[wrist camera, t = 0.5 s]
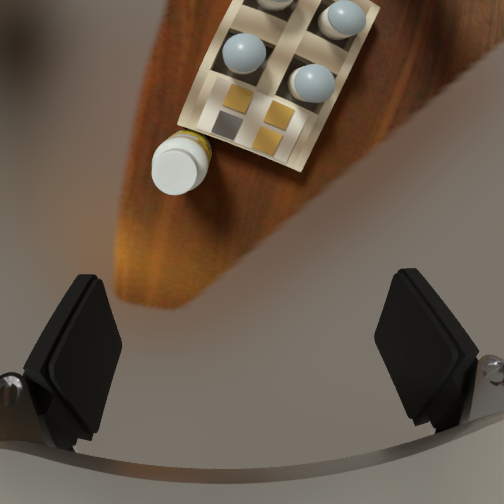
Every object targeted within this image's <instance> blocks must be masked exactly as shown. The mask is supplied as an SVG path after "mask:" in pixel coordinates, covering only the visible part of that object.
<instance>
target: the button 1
mask: <svg viewBox="0 0 504 504" xmlns="http://www.w3.org/2000/svg"><path fill="white" fill-rule="evenodd" d="M265 56H266V49H265V46H264V44H263V42H262V41H261V40H260V39H259V38H258V37H256V36H254V35H252V34H247V33H241V34H237V35H234V36H232V37H231V38H230V39H228V40H227V42H226V43H225V45H224V47H223V58H224V62H225V65H226V66H227V68H228V69H229V70H230V71H232V72H234V73H236V74H241V75H244V74H249V73H252V72H254V71H255V70H256V69H257V68H258V67H259V66H260V65H261V64H262V63H263V61H264V59H265Z"/></svg>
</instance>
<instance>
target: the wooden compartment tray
mask: <svg viewBox="0 0 504 504" xmlns="http://www.w3.org/2000/svg"><path fill="white" fill-rule="evenodd" d="M336 1H340V0H293V1H292V3H291V4H290V5H289V6H288V7H287V8H286V9H284V10H281V11H269V10H266V9H264V8H262V7H261V6H260V5H259V4H258V3H257V1H256V0H233V1H232V3H231V5H230V7H229V9H228V10H227V12H226V14H225V16H224V18H223V20H222V22H221V24H220V26H219V28H218V30H217V32H216V34H215V36H214V38H213V40H212V43H211V45H210V47H209V49H208V51H207V53H206V55H205V58H204V60H203V62H202V64H201V67H200V69H199V71H198V73H197V76H196V78H195V80H194V83H193V85H192V88H191V90H190V92H189V95H188V97H187V100H186V102H185V105H184V107H183V110H182V112H181V115H180V118H179V120H178V123H177V125H180V126H183V127H186V128H189V129H192V130H195V131H197V132H200V133H203V134H206V135H209V136H211V137H214V138H217V139H220V140H222V141H225V142H228V143H230V144H233V145H236V146H238V147H241V148H243V149H246V150H248V151H251V152H254V153H256V154H259V155H261V156H263V157H266V158H268V159H271V160H273V161H276V162H278V163H280V164H283V165H285V166H287V167H290V168H292V169H294V170H297V171H299V172H301V171H302V169H303V167H304V165H305V163H306V161H307V159H308V157H309V155H310V153H311V151H312V149H313V147H314V145H315V143H316V141H317V139H318V136H319V134H320V132H321V130H322V128H323V126H324V124H325V122H326V120H327V118H328V116H329V114H330V112H331V110H332V108H333V106H334V103H335V101H336V99H337V97H338V95H339V93H340V91H341V89H342V87H343V85H344V83H345V81H346V79H347V76H348V74H349V72H350V70H351V68H352V66H353V64H354V62H355V60H356V58H357V56H358V53H359V51H360V49H361V47H362V45H363V43H364V41H365V39H366V37H367V35H368V32H369V30H370V28H371V26H372V24H373V22H374V20H375V18H376V15H377V13H378V11H379V9H380V7H379V6H377V5H376V4H374V3H372V2H371V1H369V0H348V1H351V2H353V3H355V4H357V5H358V6H359V7H360V8H361V9H362V10H363V12H364V14H365V16H366V26H365V28H364V29H363V30H362V31H361V32H360V33H357V34H355V35H352V36H350V37H347V38H345V39H342V40H333V39H330V38H328V37H326V36H325V35H324V34H323V33H322V32H321V31H320V29H319V27H318V17H319V15H320V14H321V13H322V12H323V11H324V10H326V9H327V8H328V7H329V6H331V5H332V4H333V3H335V2H336ZM241 33H247V34H252V35H254V36H256V37H258V38H259V39H260V40H261V41H262V42H263V44H264V46H265V49H266V56H265V59H264V61H263V63H262V64H261V65H260V66H259V67H258V68H257V69H256V70H255V71H254V72H252V73H249V74H244V75H241V74H236V73H234V72H232V71H230V70H229V69H228V68H227V66H226V65H225V62H224V58H223V47H224V45H225V43H226V42H227V40H228V39H230V38H231V37H232V36H234V35H237V34H241ZM310 64H318V65H322V66H324V67H325V68H327V69H328V70H329V71H330V72H331V73H332V75H333V77H334V80H335V90H334V92H333V94H332V96H331V97H330V98H329V99H327V100H326V101H324V102H320V103H313V102H306V101H300V100H298V99H296V98H295V97H294V96H293V95H292V94H291V93H290V91H289V89H288V78H289V76H290V74H291V73H292V72H293V71H294V70H296V69H298V68H301V67H303V66H306V65H310Z"/></svg>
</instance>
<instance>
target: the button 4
mask: <svg viewBox="0 0 504 504" xmlns="http://www.w3.org/2000/svg"><path fill="white" fill-rule="evenodd" d="M365 26H366V16H365V14H364V12H363V10H362V9H361V8H360V7H359V6H358V5H357V4H355V3H353V2H351V1H348V0H340V1H336V2H335V3H333V4H332V5H331V6H329V7H328V8H327V9H326V10H324V11H323V12H322V13H321V14H320V15H319V17H318V27H319V29H320V31H321V32H322V33H323V34H324V35H325V36H326V37H328V38H330V39H333V40H342V39H345V38H347V37H350V36H352V35H355V34H357V33H360V32H361V31H362V30H363V29H364V28H365Z"/></svg>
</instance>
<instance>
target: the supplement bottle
mask: <svg viewBox="0 0 504 504" xmlns="http://www.w3.org/2000/svg"><path fill="white" fill-rule="evenodd" d="M211 156H212V148H211V145H210V143H209V141H208V139H207V138H206V136H205V135H204V134H202V133H200V132H197V131H195V130H192V129H185V130H181V131H178V132H176V133H175V134H173V135H172V136H171V137H169V138H168V139H167V140H166V141H164V142H163V143H162V144H161V145H160V146H159V147H158V148H157V150H156V151H155V153H154V156H153V160H152V178H153V181H154V183H155V185H156V186H157V187H158V188H159V189H160V190H161V191H162V192H164V193H166V194H170V195H180V194H183V193H186V192H187V191H190V190H192V189H194V188H195V187H197V186H198V185H199V184H200V183H201V182H202V181H203V179H204V178H205V176H206V173H207V170H208V167H209V163H210V160H211Z"/></svg>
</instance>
